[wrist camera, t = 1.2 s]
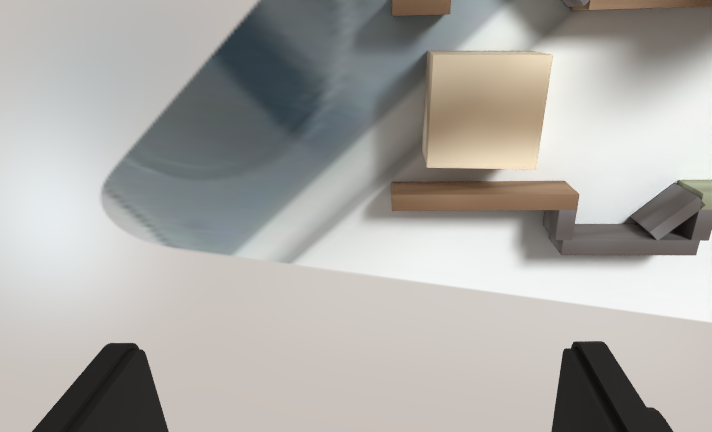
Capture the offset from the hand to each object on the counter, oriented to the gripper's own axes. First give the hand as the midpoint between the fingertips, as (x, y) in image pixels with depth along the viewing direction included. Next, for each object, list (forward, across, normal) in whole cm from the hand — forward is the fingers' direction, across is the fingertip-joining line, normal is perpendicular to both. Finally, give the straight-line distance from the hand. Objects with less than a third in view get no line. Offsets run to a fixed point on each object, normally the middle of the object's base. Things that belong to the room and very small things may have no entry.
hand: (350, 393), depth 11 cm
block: (+22, -6, -2) cm, 22 cm away
